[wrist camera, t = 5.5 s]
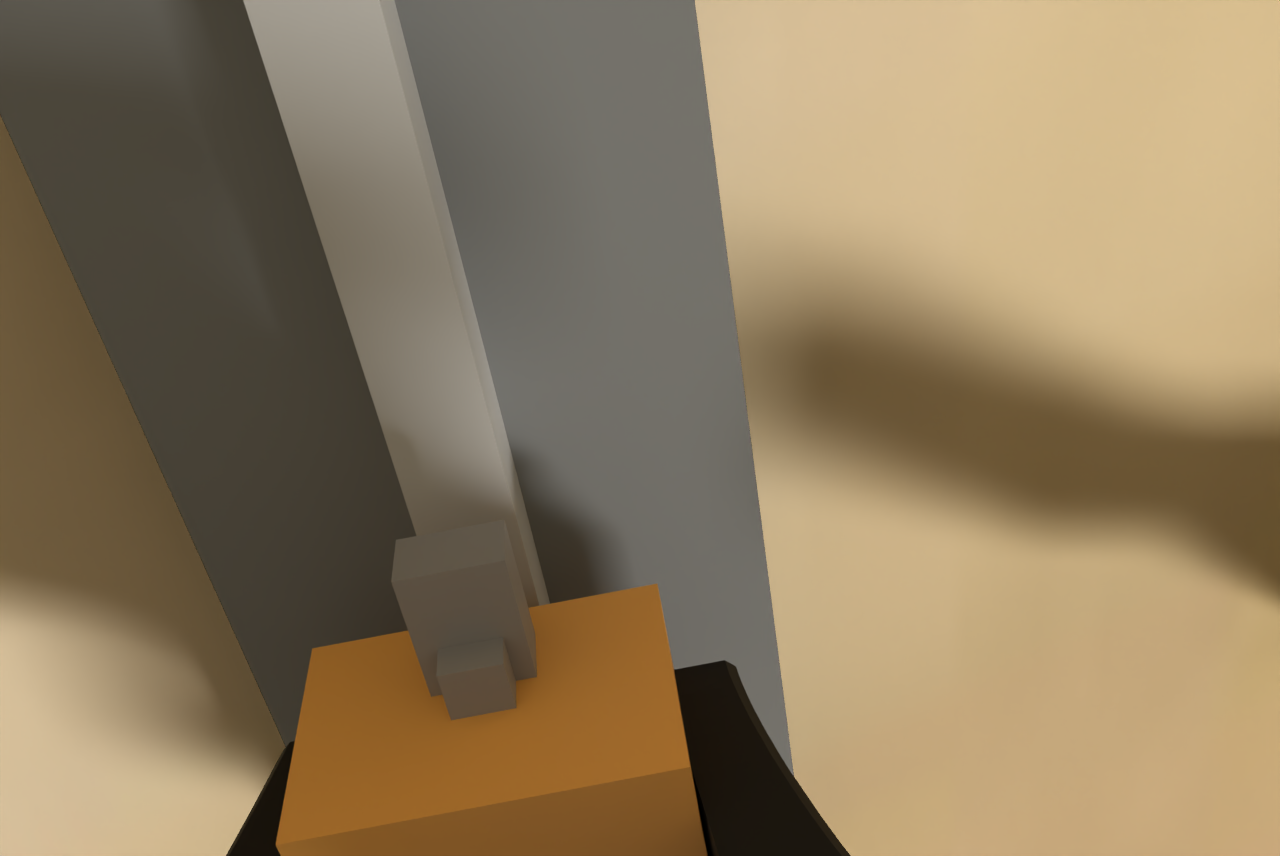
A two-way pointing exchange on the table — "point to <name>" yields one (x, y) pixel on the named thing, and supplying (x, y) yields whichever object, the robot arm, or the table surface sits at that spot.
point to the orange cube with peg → (493, 722)
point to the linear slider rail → (410, 299)
